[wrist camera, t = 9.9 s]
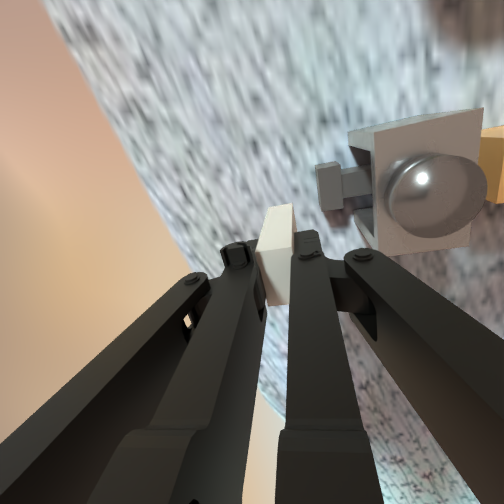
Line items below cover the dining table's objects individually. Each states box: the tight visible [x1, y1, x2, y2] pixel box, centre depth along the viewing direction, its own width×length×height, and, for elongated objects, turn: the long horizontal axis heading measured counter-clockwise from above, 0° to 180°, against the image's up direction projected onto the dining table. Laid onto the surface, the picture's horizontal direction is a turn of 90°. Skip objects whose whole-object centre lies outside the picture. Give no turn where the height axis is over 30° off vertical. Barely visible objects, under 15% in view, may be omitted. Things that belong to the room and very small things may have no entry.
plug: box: [315, 125, 504, 212], centre depth 22 cm, size 4×17×7 cm, turn 102°
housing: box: [348, 107, 488, 257], centre depth 21 cm, size 9×6×11 cm
